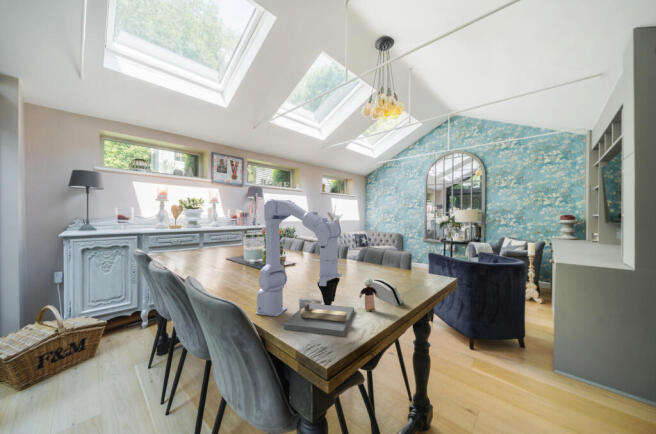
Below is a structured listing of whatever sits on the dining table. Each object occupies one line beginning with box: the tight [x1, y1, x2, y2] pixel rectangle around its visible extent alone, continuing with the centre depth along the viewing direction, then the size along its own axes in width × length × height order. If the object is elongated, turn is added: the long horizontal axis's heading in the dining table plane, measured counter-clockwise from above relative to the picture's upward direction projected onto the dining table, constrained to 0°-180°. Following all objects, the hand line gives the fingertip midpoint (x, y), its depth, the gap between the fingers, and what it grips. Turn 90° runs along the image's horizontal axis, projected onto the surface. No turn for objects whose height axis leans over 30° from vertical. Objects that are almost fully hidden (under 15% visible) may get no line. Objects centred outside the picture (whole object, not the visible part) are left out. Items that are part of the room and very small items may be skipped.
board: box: [283, 303, 355, 337], centre depth 82 cm, size 20×20×2 cm
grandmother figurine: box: [358, 277, 379, 313], centre depth 90 cm, size 8×4×13 cm, turn 108°
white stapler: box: [371, 278, 406, 307], centre depth 101 cm, size 17×5×10 cm, turn 23°
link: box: [301, 304, 347, 321], centre depth 79 cm, size 16×4×4 cm, turn 74°
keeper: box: [298, 297, 323, 311], centre depth 87 cm, size 8×2×4 cm, turn 74°
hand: (329, 302), depth 72 cm, fingers open, 3 cm apart
